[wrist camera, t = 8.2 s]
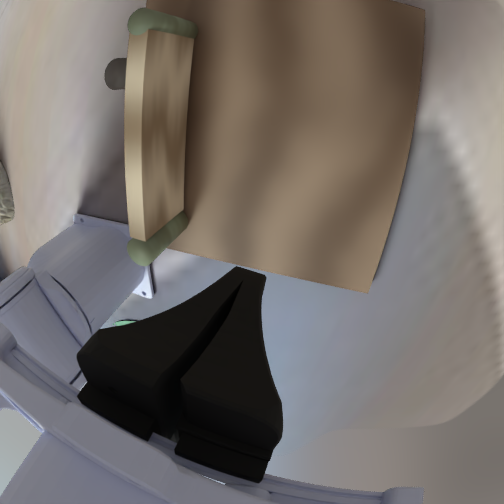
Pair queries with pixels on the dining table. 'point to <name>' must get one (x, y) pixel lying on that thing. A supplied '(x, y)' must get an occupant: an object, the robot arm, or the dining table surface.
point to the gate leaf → (156, 129)
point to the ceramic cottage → (5, 198)
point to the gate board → (296, 131)
